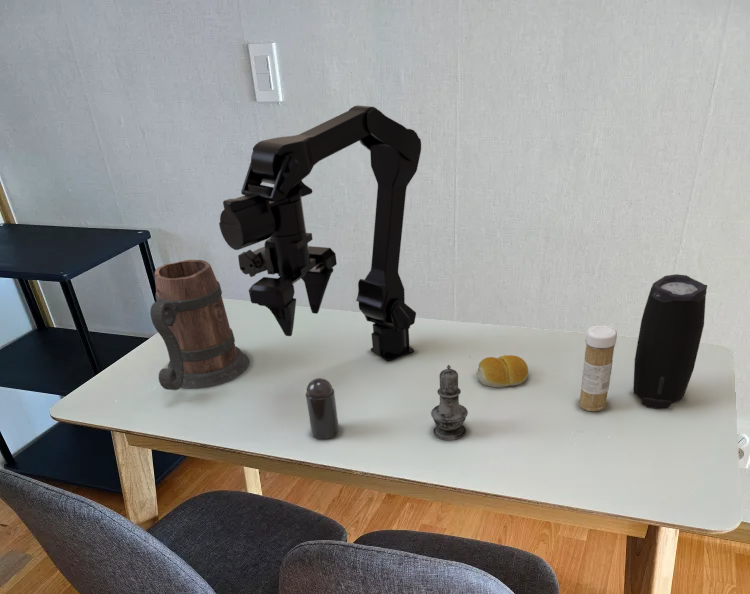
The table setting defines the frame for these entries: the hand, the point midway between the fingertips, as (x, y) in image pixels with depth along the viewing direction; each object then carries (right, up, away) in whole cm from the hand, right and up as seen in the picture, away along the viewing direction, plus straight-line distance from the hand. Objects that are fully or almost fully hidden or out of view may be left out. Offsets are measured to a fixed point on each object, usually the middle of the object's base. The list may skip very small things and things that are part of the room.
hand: (302, 324), depth 119 cm
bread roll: (+35, -8, +8) cm, 37 cm away
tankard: (-22, -6, +18) cm, 29 cm away
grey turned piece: (+25, -19, -5) cm, 31 cm away
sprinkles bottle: (+49, -14, -2) cm, 51 cm away
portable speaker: (+60, -13, -2) cm, 61 cm away
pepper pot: (+4, -19, -2) cm, 19 cm away
